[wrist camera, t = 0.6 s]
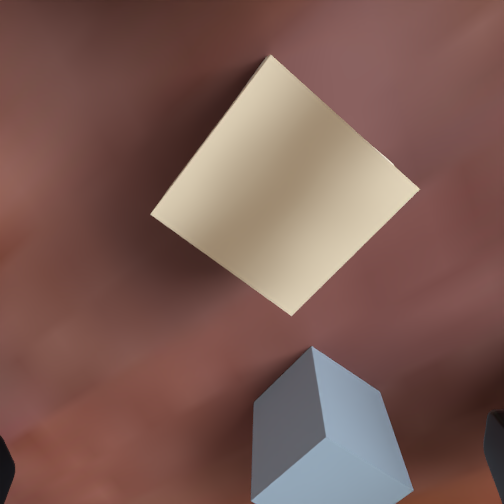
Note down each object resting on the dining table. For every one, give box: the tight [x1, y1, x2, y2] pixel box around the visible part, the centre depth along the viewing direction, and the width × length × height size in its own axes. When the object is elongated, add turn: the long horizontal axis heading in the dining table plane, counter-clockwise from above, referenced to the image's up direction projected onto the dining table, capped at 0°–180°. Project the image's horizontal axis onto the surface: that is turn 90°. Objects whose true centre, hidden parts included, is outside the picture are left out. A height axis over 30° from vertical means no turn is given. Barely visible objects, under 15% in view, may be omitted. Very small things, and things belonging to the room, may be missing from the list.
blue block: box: [251, 346, 414, 504], centre depth 22 cm, size 5×5×6 cm
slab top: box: [150, 55, 420, 316], centre depth 15 cm, size 6×6×3 cm
